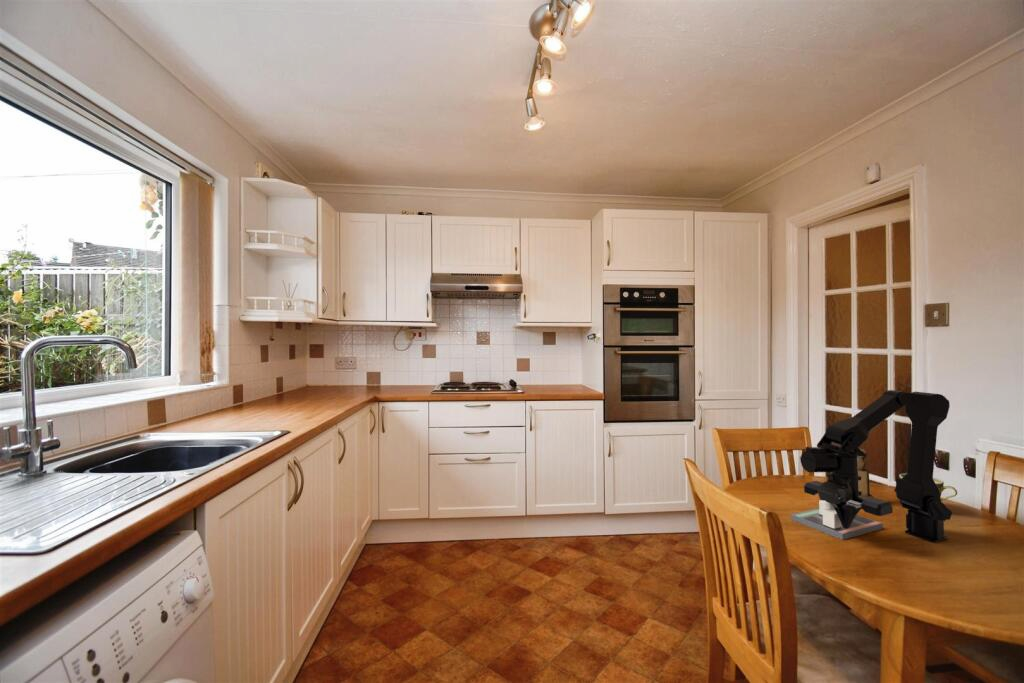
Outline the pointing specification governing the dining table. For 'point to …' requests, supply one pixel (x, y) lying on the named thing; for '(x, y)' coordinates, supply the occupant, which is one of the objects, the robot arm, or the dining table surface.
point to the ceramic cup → (939, 485)
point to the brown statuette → (863, 477)
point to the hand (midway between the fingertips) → (845, 528)
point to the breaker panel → (856, 528)
